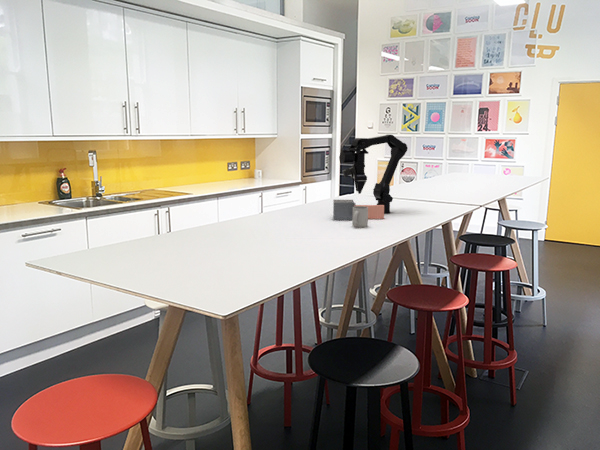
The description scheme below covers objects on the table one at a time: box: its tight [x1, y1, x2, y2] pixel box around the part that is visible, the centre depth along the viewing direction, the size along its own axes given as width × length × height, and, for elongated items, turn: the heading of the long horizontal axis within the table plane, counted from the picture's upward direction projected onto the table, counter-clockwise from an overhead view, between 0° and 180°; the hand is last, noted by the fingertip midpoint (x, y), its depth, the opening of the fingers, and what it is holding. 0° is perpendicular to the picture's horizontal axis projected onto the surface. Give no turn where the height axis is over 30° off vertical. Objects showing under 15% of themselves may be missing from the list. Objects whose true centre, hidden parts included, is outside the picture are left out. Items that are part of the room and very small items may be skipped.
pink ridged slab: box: [354, 204, 385, 220], centre depth 257 cm, size 17×2×7 cm, turn 87°
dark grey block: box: [332, 199, 357, 221], centre depth 257 cm, size 11×10×9 cm
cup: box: [351, 206, 369, 229], centre depth 237 cm, size 7×10×9 cm
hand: (358, 192), depth 265 cm, fingers open, 9 cm apart
